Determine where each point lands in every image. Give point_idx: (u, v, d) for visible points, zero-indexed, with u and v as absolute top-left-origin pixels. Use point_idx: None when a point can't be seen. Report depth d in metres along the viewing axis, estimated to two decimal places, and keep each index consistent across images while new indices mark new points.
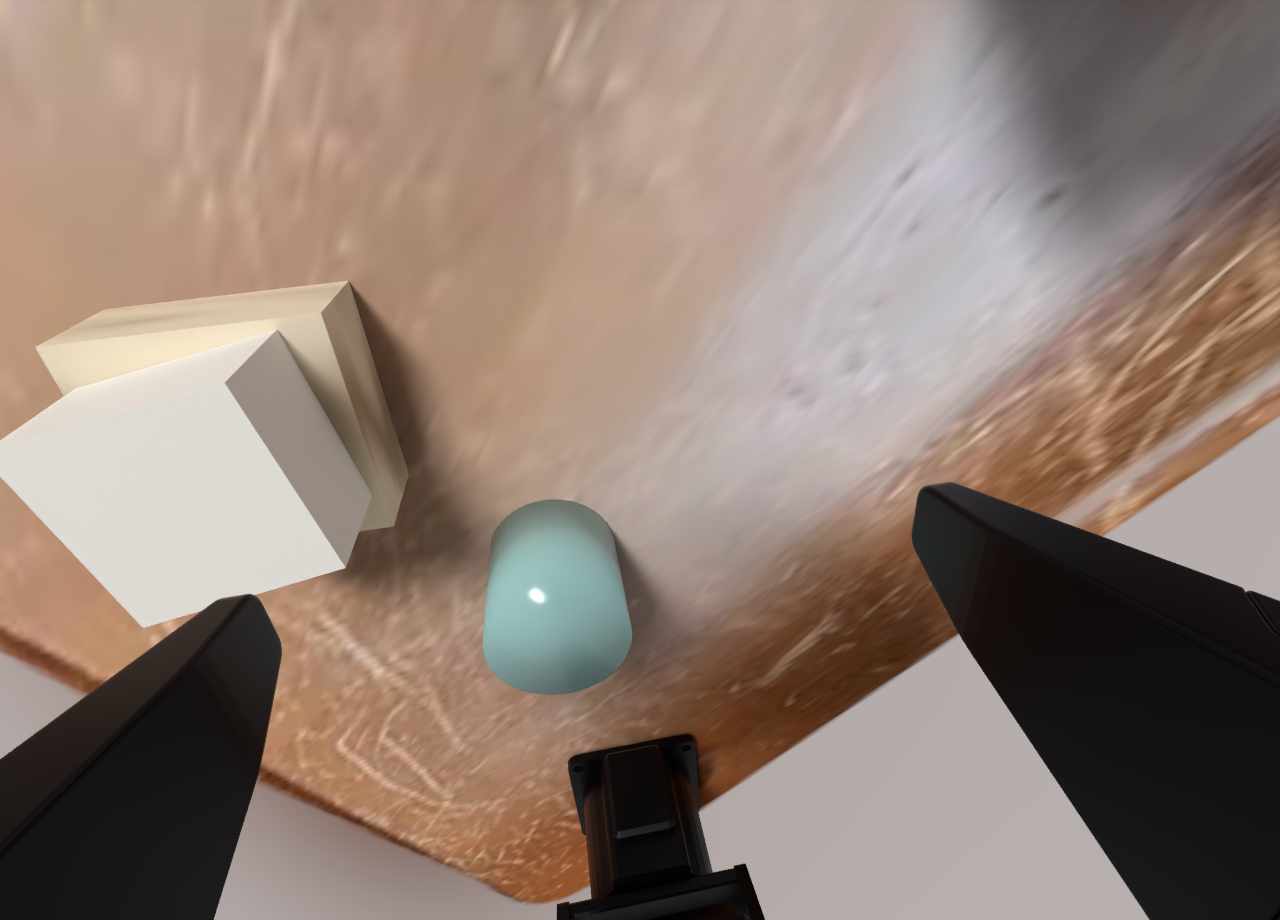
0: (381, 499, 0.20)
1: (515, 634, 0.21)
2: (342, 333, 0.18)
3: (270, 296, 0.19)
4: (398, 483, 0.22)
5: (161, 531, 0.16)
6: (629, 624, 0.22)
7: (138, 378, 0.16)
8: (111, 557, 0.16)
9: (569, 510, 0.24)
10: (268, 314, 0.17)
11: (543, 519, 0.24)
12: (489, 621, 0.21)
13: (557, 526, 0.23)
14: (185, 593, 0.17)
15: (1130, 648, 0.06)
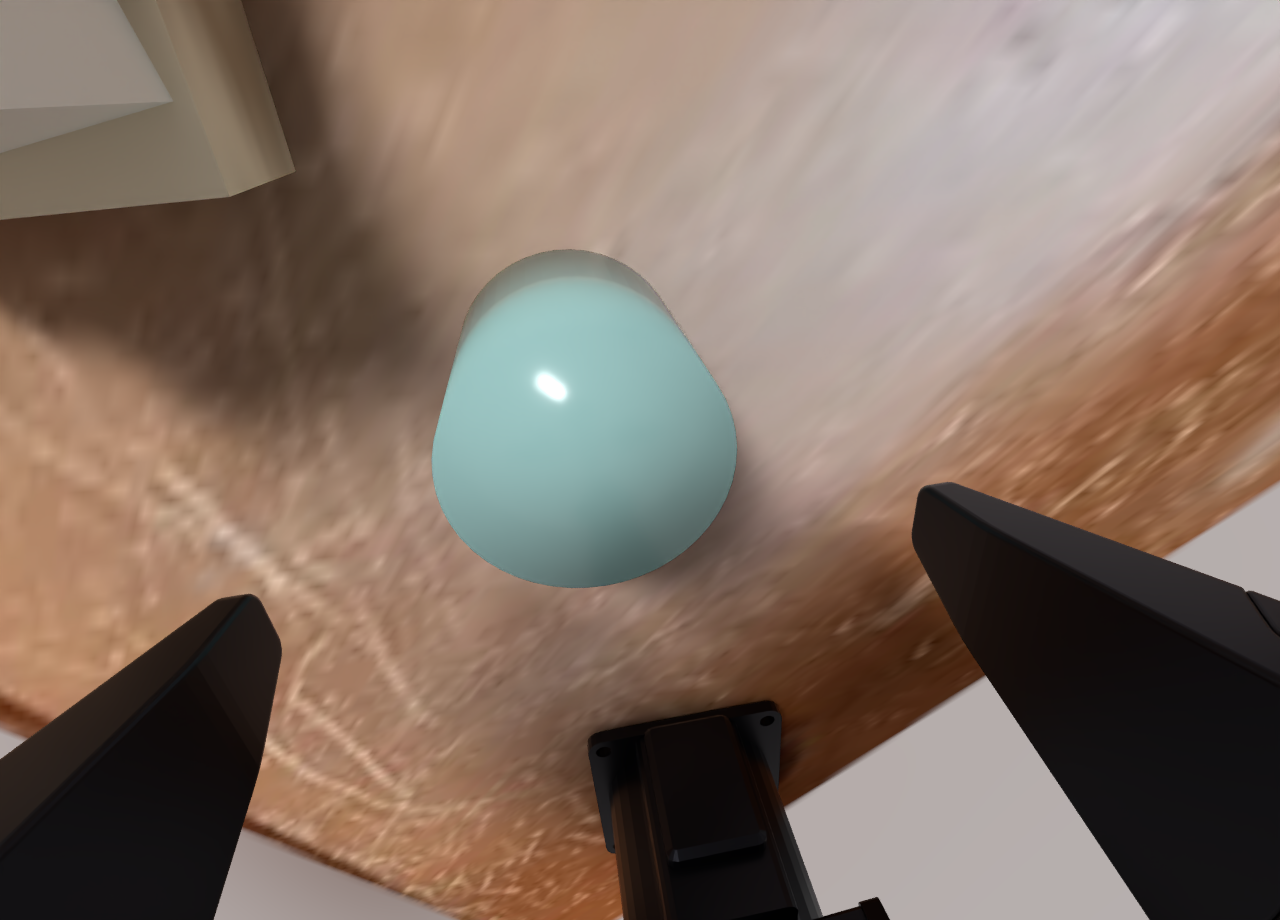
0: (192, 115, 0.09)
1: (499, 442, 0.10)
2: None
3: None
4: (259, 148, 0.11)
5: None
6: (733, 433, 0.11)
7: None
8: None
9: (603, 261, 0.13)
10: None
11: (556, 264, 0.13)
12: (444, 408, 0.10)
13: (582, 270, 0.12)
14: None
15: (1130, 648, 0.06)
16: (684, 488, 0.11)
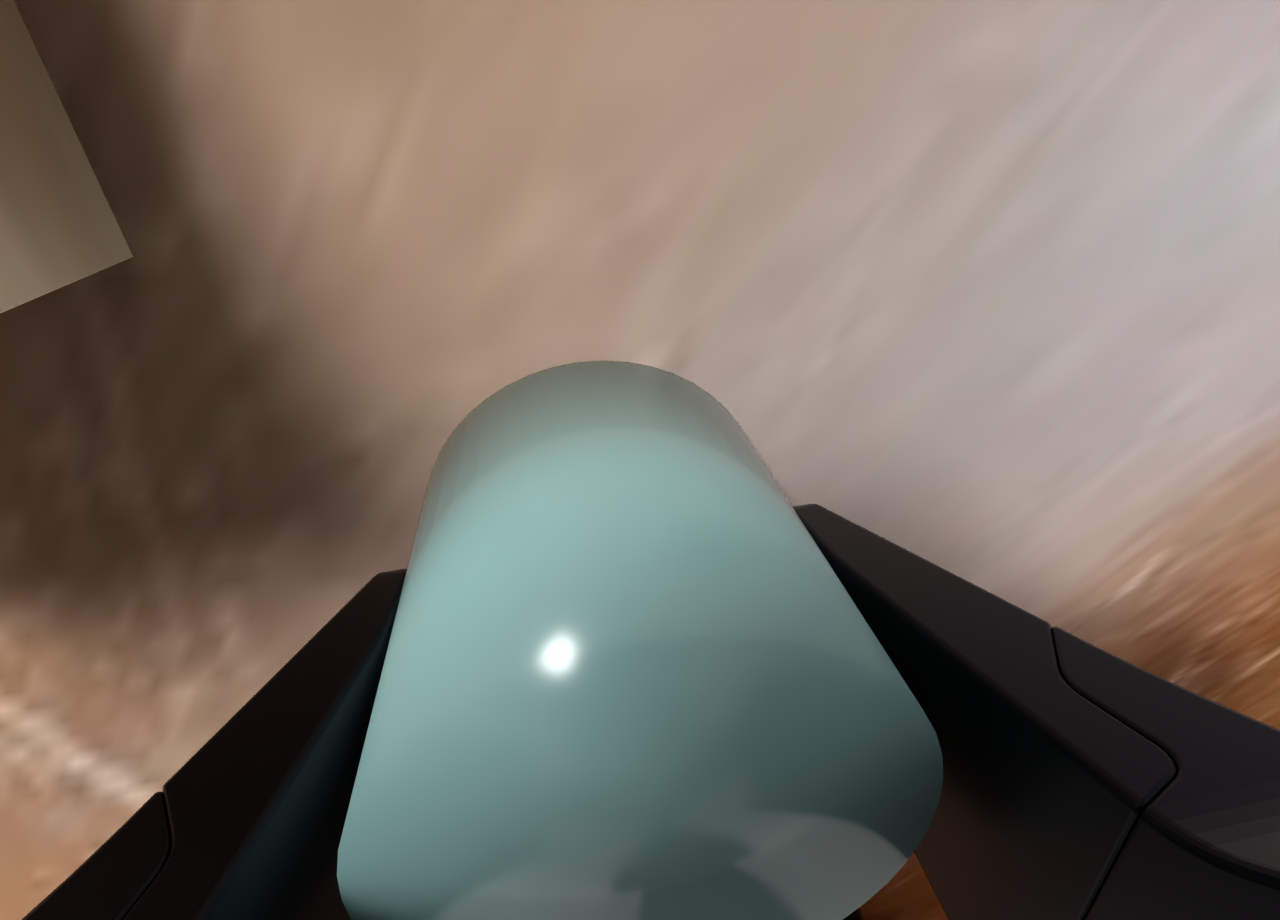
0: None
1: (476, 839, 0.05)
2: None
3: None
4: (20, 233, 0.06)
5: None
6: (937, 779, 0.05)
7: None
8: None
9: (658, 386, 0.08)
10: None
11: (583, 403, 0.07)
12: (358, 792, 0.05)
13: (630, 420, 0.07)
14: None
15: (935, 685, 0.06)
16: (832, 861, 0.06)
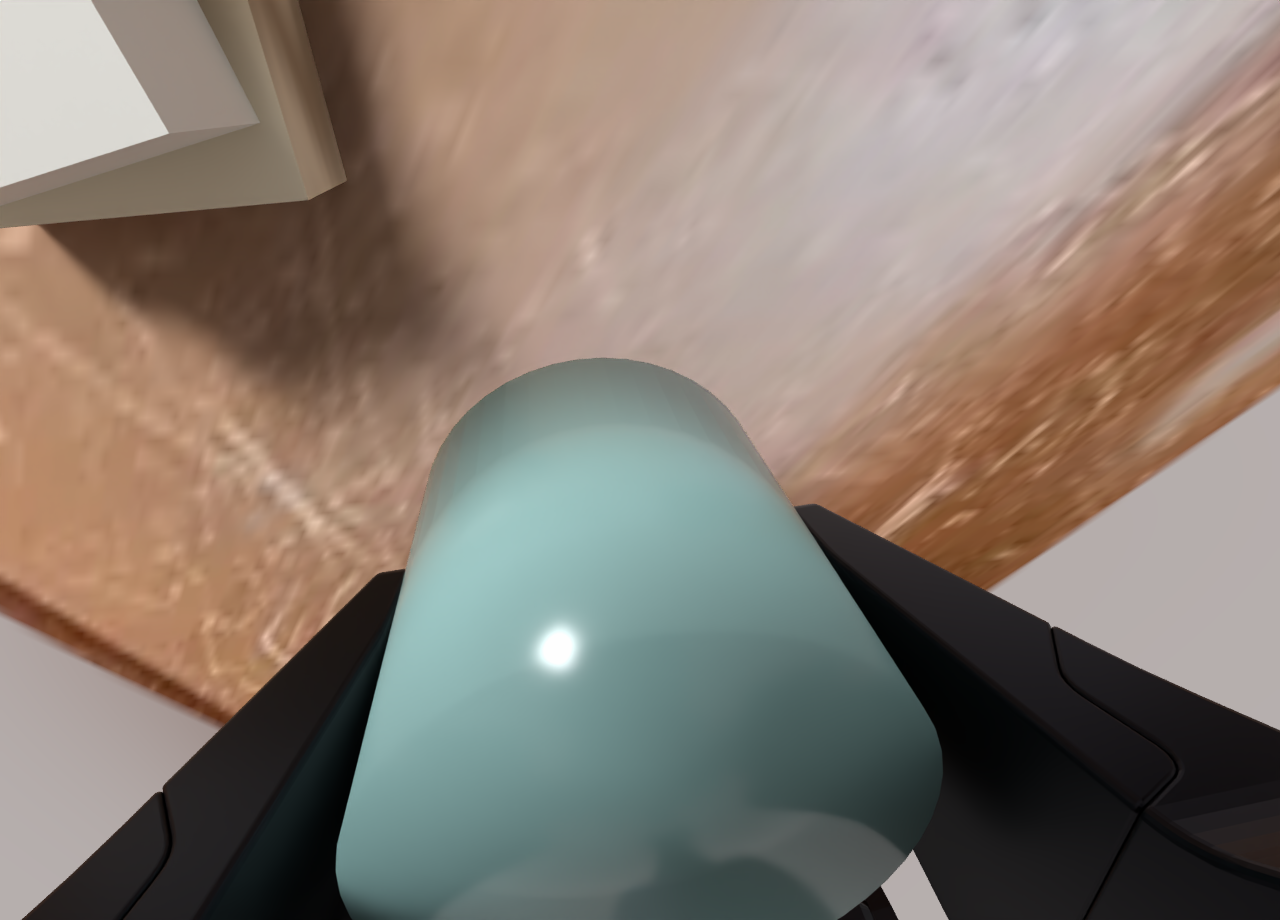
0: (284, 138, 0.12)
1: (476, 835, 0.05)
2: None
3: None
4: (324, 163, 0.14)
5: None
6: (937, 775, 0.05)
7: None
8: None
9: (658, 383, 0.08)
10: None
11: (582, 400, 0.07)
12: (357, 788, 0.05)
13: (630, 417, 0.07)
14: None
15: (935, 685, 0.06)
16: (831, 857, 0.06)
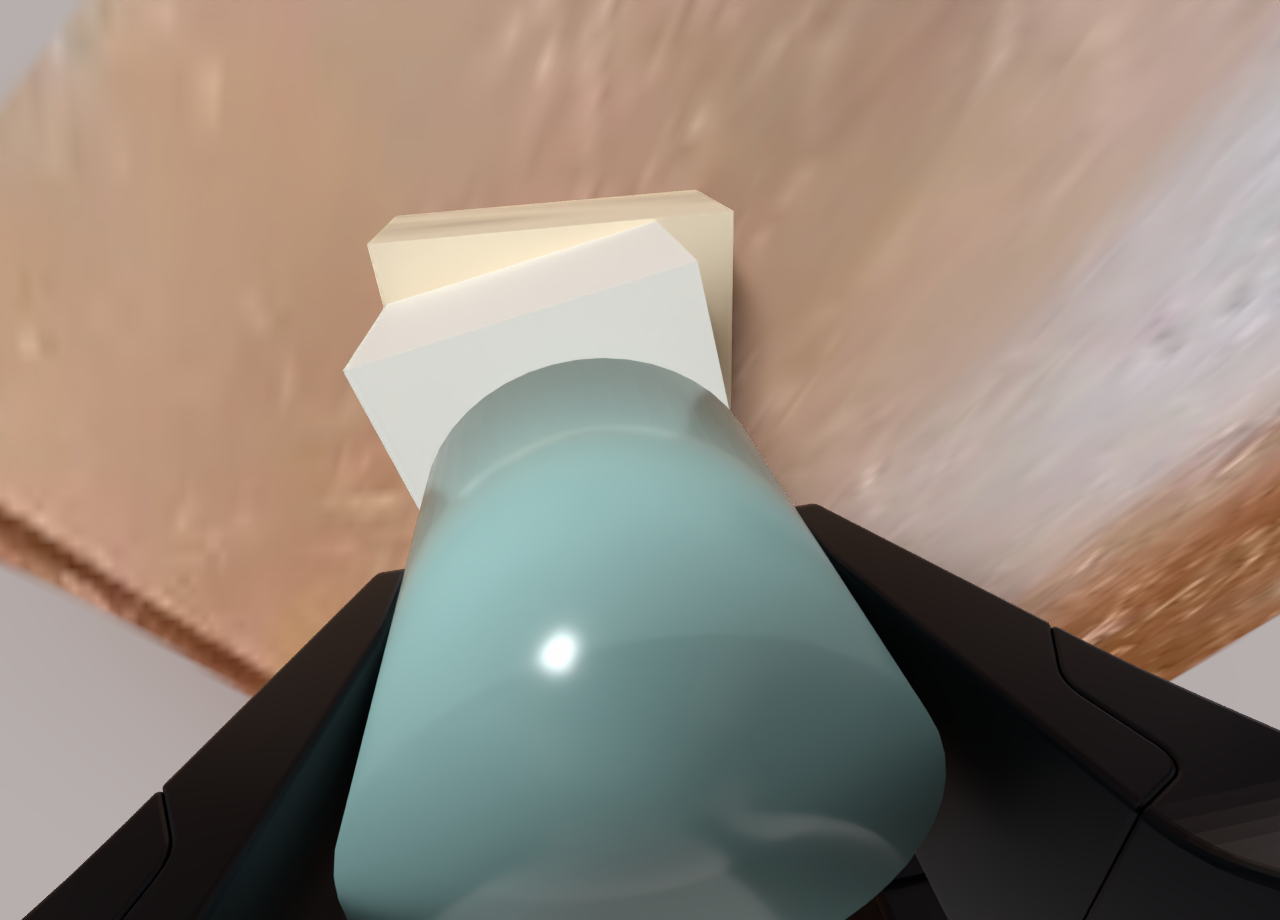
0: None
1: (476, 838, 0.05)
2: None
3: (616, 202, 0.15)
4: None
5: None
6: (940, 778, 0.05)
7: (492, 282, 0.12)
8: None
9: (659, 383, 0.08)
10: (656, 213, 0.13)
11: (582, 400, 0.07)
12: (356, 792, 0.05)
13: (630, 417, 0.07)
14: None
15: (935, 685, 0.06)
16: (833, 861, 0.06)
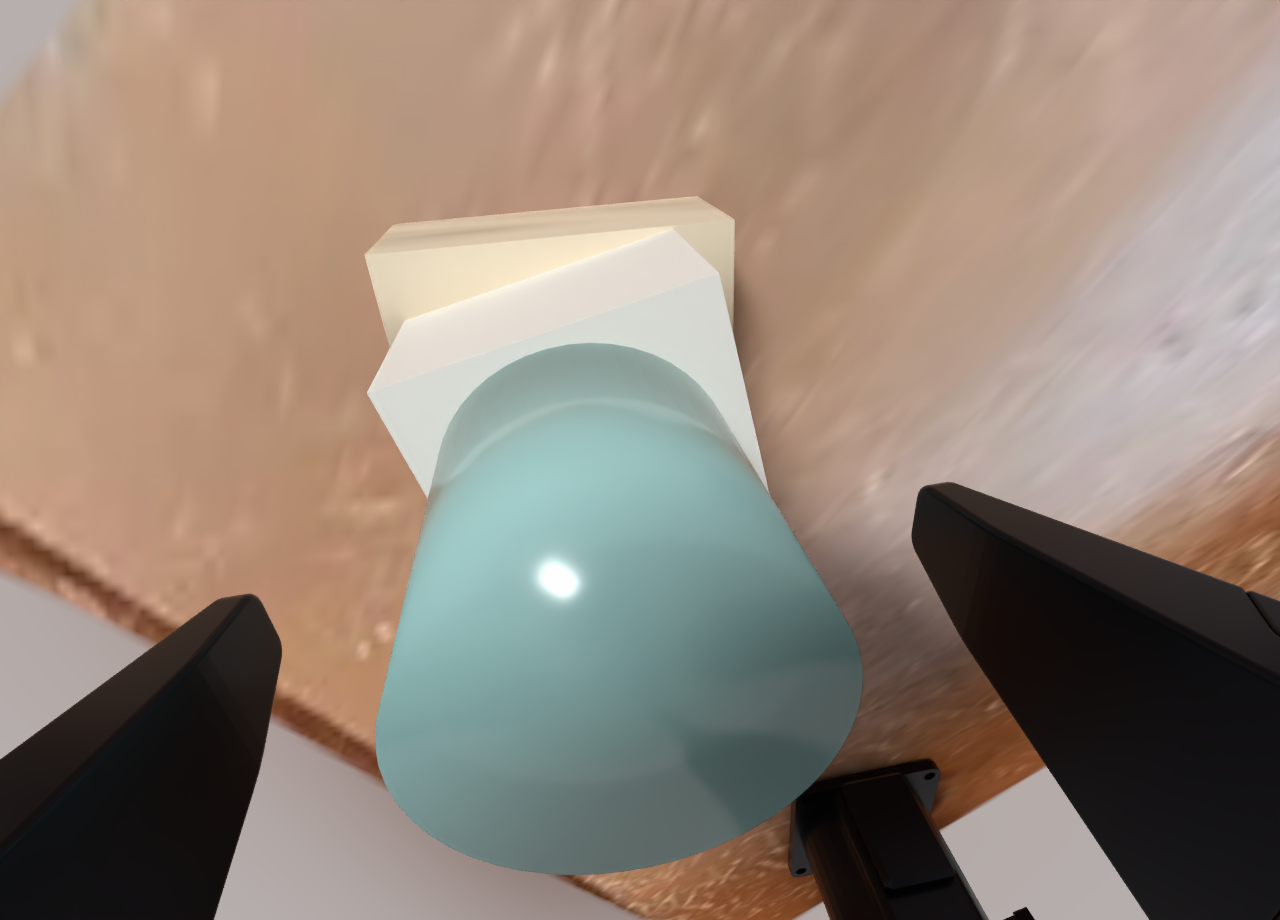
0: None
1: (485, 713, 0.06)
2: None
3: (616, 209, 0.14)
4: None
5: None
6: (858, 672, 0.07)
7: (511, 296, 0.12)
8: None
9: (637, 363, 0.09)
10: (656, 222, 0.13)
11: (571, 377, 0.09)
12: (392, 672, 0.06)
13: (610, 390, 0.08)
14: None
15: (1130, 648, 0.06)
16: (776, 746, 0.07)
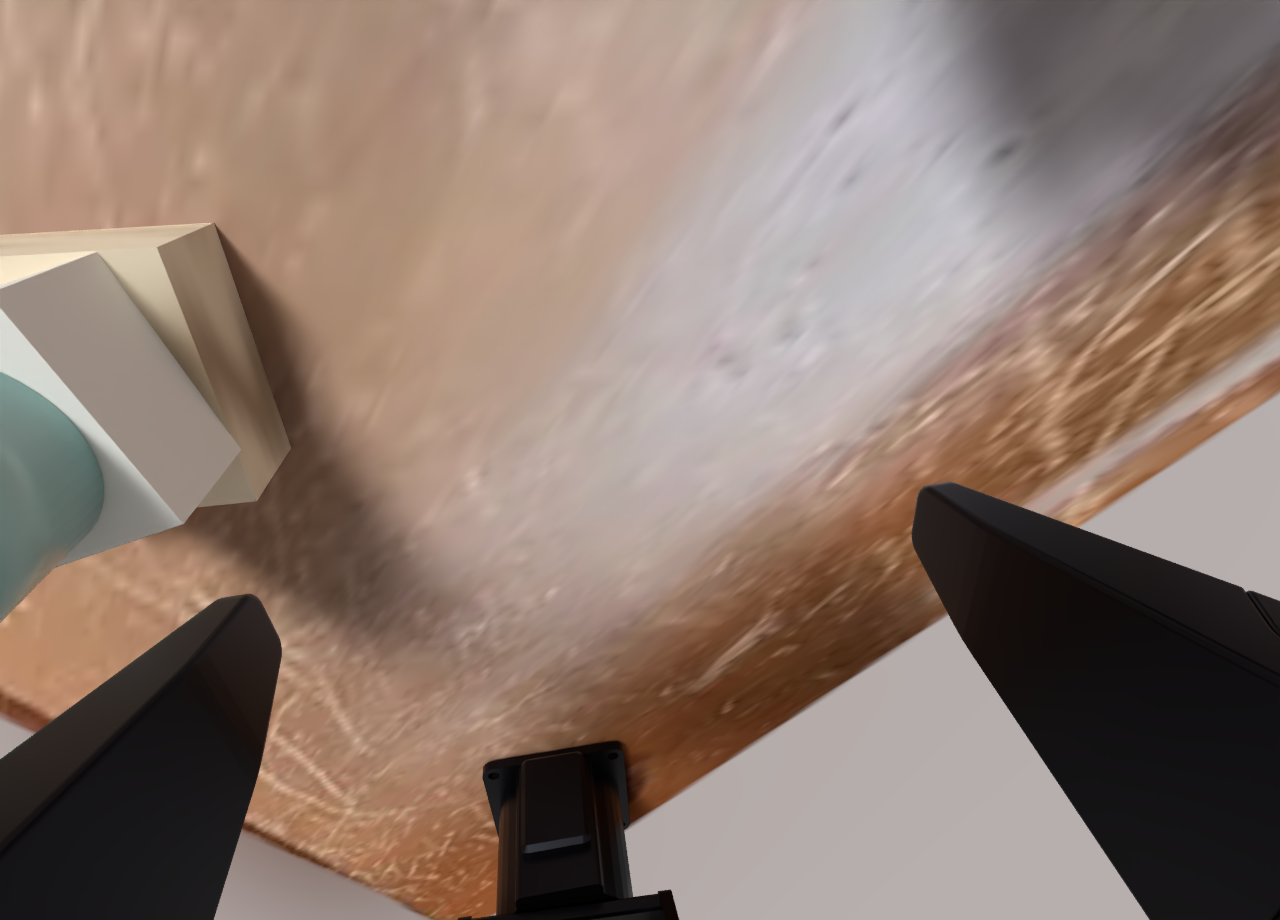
0: (240, 469, 0.18)
1: None
2: (193, 277, 0.16)
3: (116, 232, 0.17)
4: (272, 455, 0.20)
5: None
6: None
7: None
8: None
9: None
10: (98, 247, 0.15)
11: None
12: None
13: None
14: None
15: (1130, 648, 0.06)
16: None
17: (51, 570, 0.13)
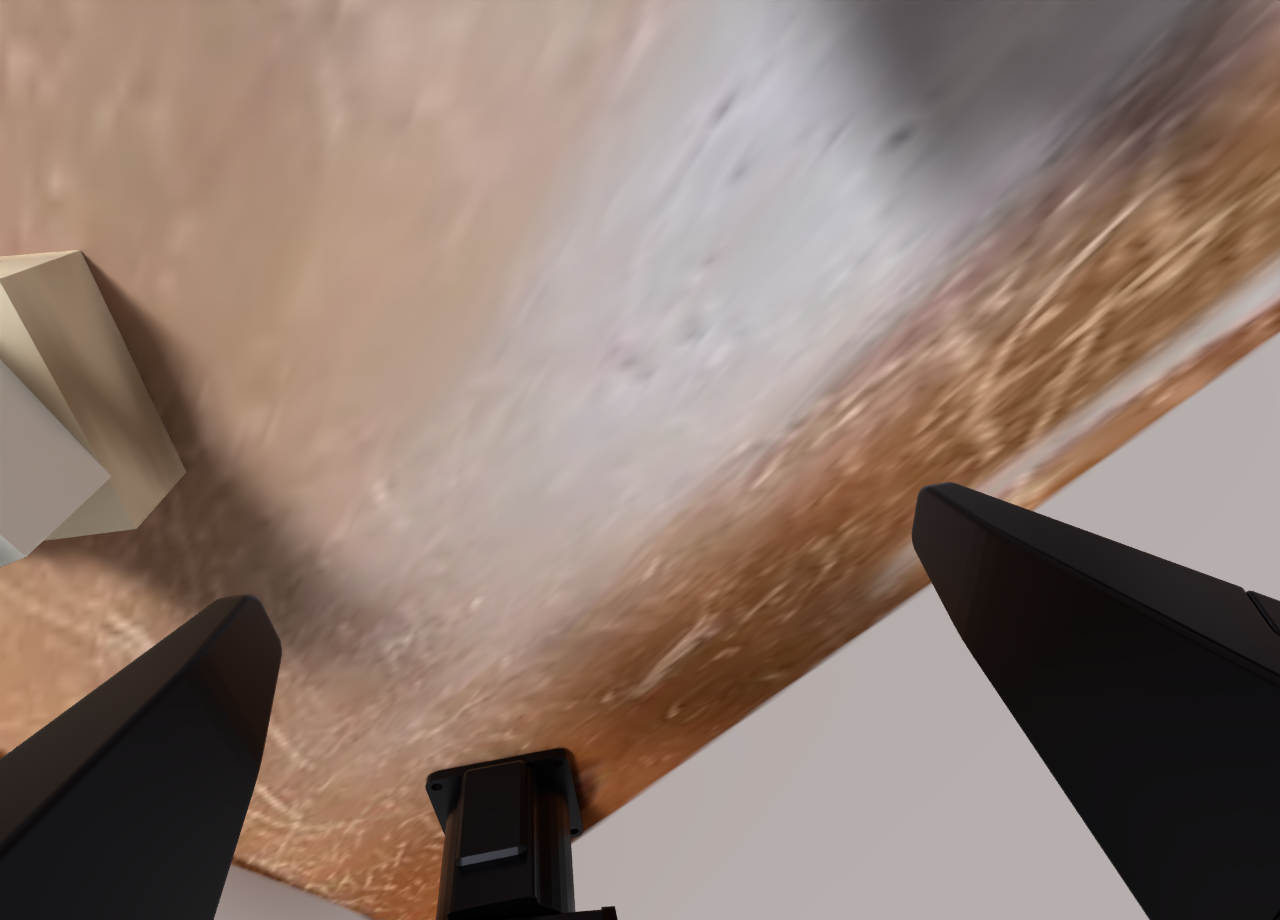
0: (115, 498, 0.18)
1: None
2: (51, 306, 0.16)
3: None
4: (159, 481, 0.19)
5: None
6: None
7: None
8: None
9: None
10: None
11: None
12: None
13: None
14: None
15: (1130, 648, 0.06)
16: None
17: None
